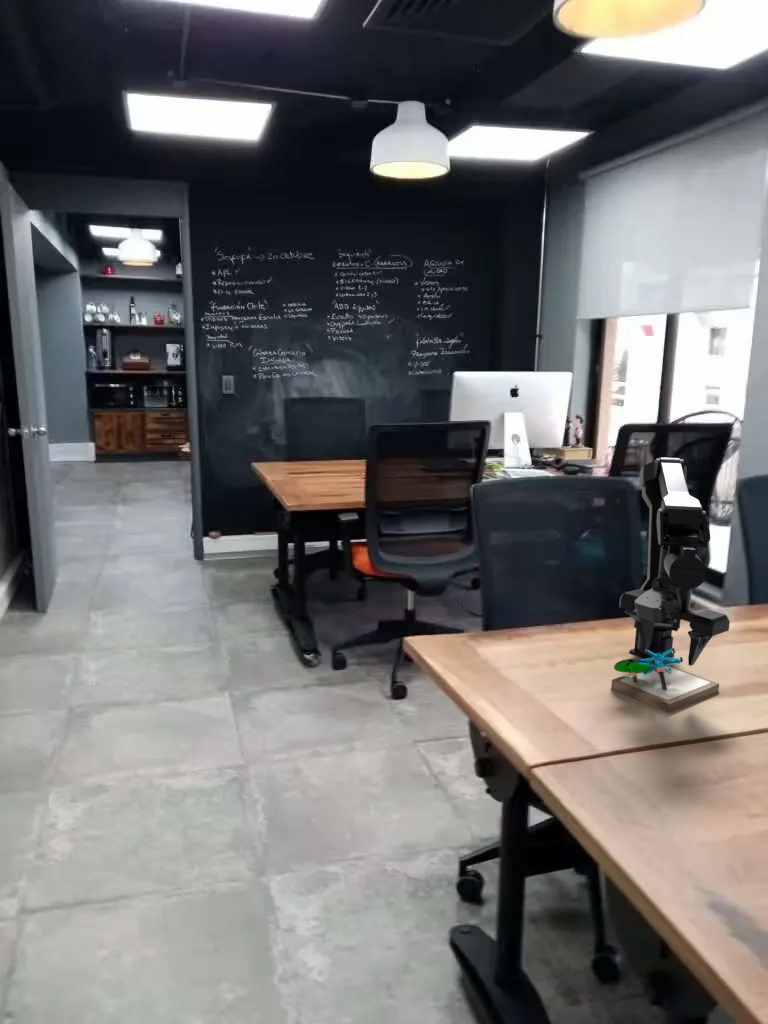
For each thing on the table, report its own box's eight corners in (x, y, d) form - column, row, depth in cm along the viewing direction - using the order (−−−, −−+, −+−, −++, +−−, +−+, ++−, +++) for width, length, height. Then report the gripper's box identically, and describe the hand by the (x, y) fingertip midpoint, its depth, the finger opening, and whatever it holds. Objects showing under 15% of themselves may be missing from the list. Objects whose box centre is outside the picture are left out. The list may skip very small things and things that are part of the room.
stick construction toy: (683, 658, 139) (676, 640, 133) (692, 694, 134) (685, 676, 129) (617, 670, 143) (608, 653, 138) (624, 705, 139) (614, 688, 133)
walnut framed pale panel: (611, 688, 139) (611, 679, 138) (660, 669, 147) (661, 661, 147) (668, 713, 129) (669, 703, 129) (718, 692, 138) (719, 683, 137)
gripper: (603, 568, 137) (597, 649, 140) (697, 594, 122) (688, 685, 125) (641, 559, 143) (635, 637, 146) (735, 583, 128) (726, 670, 131)
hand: (668, 656), depth 137 cm, fingers open, 9 cm apart
